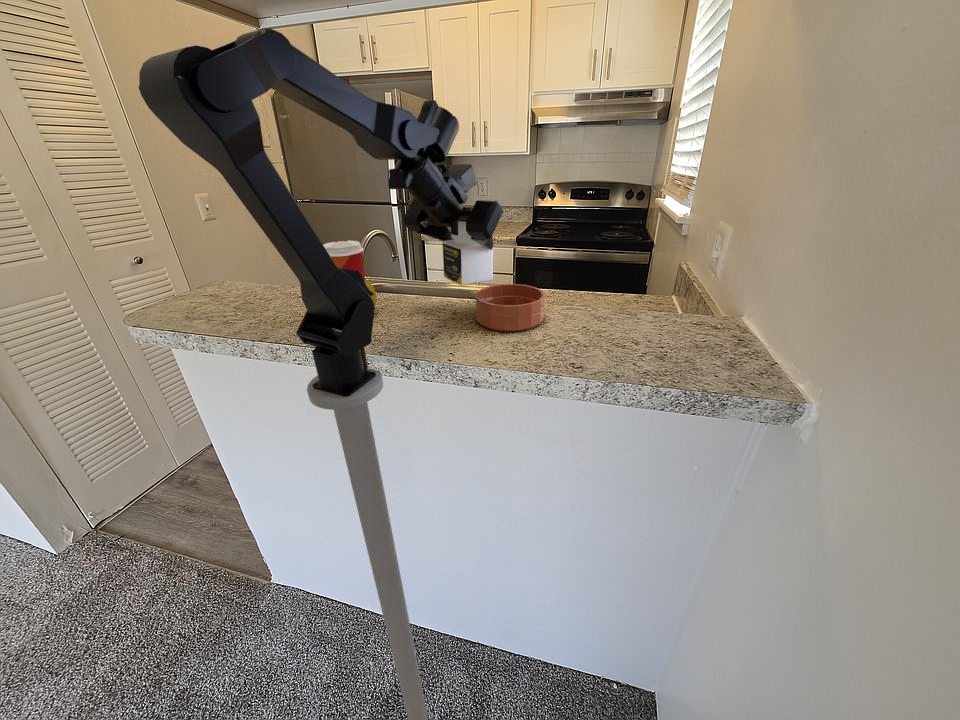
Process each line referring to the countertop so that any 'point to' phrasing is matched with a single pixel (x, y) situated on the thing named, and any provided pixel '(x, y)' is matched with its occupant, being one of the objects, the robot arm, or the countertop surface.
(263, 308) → the countertop surface
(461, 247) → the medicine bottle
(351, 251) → the paper cup
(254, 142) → the robot arm
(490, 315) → the bowl
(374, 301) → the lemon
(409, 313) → the countertop surface
